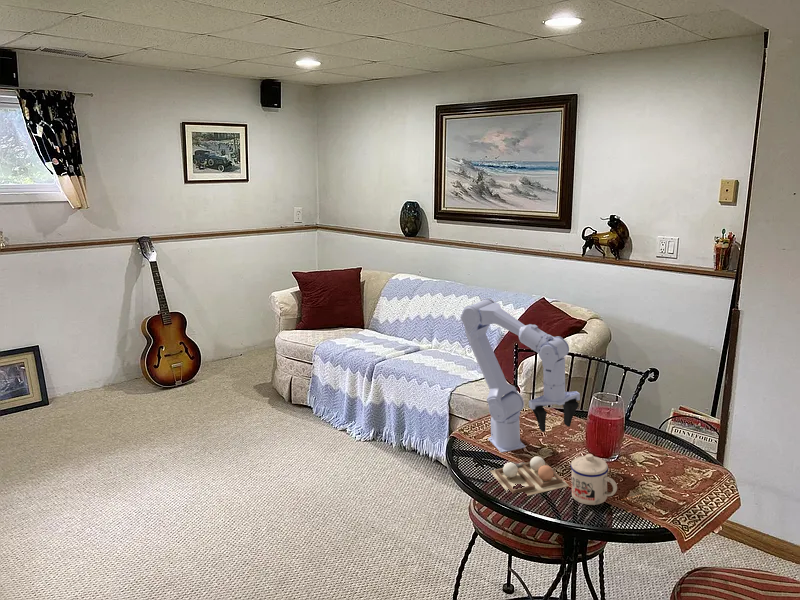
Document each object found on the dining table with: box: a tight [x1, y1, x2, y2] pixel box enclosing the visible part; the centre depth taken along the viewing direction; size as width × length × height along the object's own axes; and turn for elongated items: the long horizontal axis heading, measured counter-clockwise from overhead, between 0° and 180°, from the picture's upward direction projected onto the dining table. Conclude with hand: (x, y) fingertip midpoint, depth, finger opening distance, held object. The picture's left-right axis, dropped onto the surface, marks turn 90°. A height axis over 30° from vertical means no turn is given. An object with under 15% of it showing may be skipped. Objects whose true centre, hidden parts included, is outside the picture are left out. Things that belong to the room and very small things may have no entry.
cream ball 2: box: [529, 455, 546, 472], centre depth 181 cm, size 4×4×4 cm
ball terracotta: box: [538, 465, 554, 481], centre depth 177 cm, size 4×4×4 cm
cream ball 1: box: [502, 461, 518, 478], centre depth 180 cm, size 4×4×4 cm
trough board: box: [489, 460, 570, 497], centre depth 179 cm, size 15×16×1 cm
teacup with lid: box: [570, 453, 618, 506], centre depth 166 cm, size 12×9×12 cm
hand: (554, 427), depth 184 cm, fingers open, 7 cm apart
